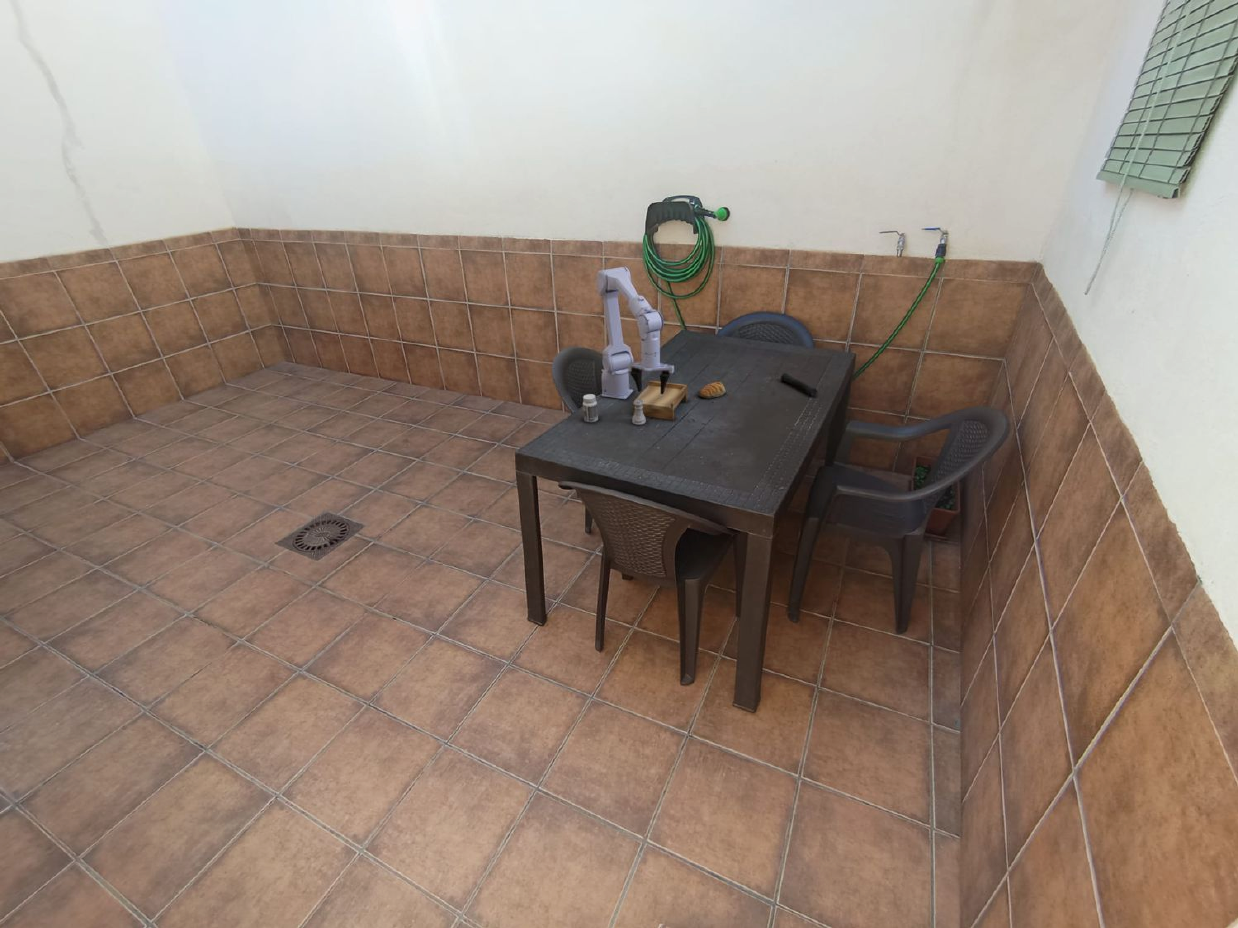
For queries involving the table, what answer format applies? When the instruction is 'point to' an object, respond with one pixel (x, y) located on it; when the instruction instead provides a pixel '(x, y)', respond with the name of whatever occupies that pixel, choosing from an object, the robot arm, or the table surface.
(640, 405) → the rook chess piece
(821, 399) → the table surface
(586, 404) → the pill bottle
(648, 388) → the wooden tray
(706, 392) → the pastry
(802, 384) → the flashlight
